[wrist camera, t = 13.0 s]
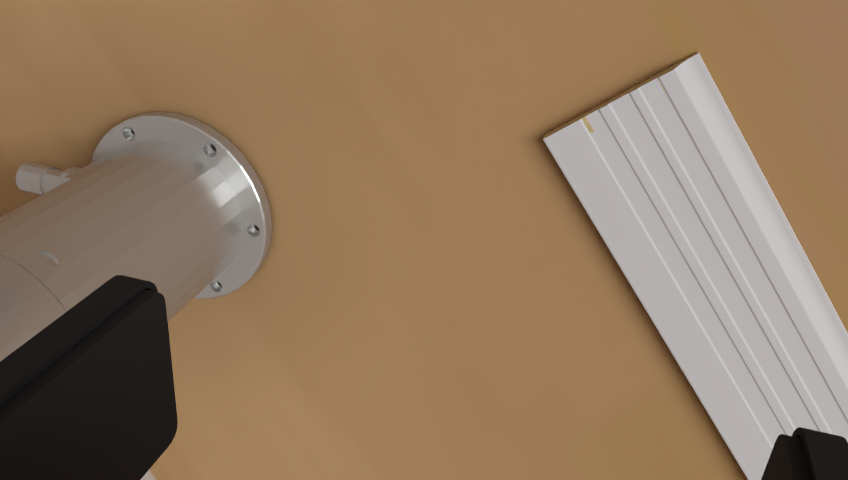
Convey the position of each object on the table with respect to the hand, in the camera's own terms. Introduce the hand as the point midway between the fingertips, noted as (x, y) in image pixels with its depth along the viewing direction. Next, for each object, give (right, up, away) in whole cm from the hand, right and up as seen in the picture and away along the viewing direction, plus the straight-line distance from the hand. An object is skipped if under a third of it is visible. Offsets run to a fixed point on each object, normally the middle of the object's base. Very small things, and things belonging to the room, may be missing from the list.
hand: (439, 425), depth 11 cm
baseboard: (+18, -2, +31) cm, 36 cm away
